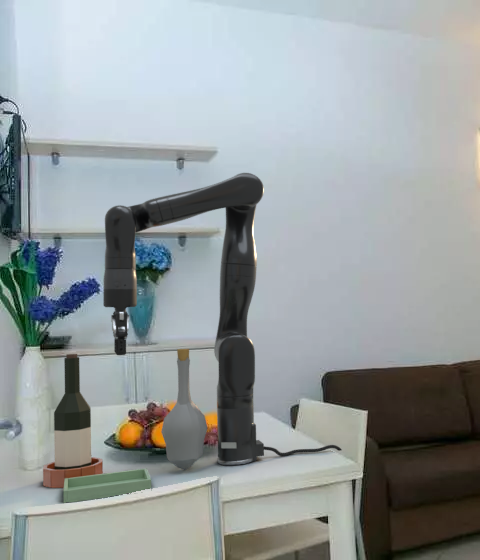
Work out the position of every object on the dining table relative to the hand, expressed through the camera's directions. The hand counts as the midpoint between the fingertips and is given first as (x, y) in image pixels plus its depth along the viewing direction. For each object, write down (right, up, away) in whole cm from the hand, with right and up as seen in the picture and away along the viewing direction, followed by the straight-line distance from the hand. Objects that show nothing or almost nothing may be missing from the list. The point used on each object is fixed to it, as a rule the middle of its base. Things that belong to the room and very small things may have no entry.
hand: (120, 353), depth 166 cm
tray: (+3, -29, -14) cm, 32 cm away
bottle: (+15, -29, +3) cm, 33 cm away
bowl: (-9, -30, -4) cm, 31 cm away
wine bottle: (-9, -30, -4) cm, 32 cm away
